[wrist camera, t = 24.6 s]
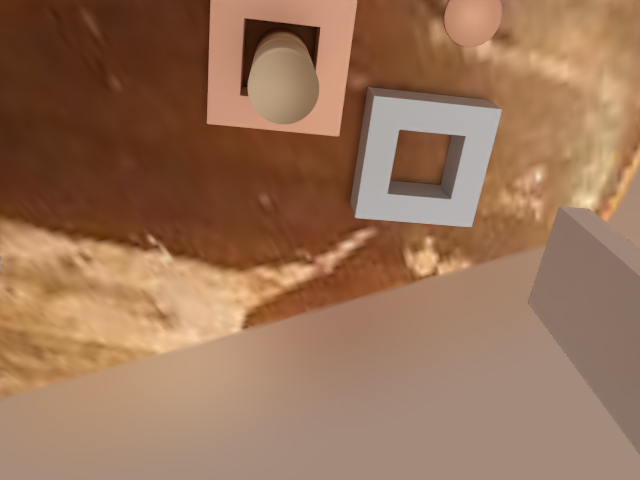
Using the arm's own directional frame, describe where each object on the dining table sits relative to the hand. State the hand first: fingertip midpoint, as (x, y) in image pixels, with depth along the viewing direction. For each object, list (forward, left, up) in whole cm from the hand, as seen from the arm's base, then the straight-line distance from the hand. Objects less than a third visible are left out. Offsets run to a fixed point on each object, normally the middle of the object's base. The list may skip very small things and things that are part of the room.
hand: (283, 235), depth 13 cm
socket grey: (+11, -6, -29) cm, 31 cm away
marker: (+13, +4, -29) cm, 32 cm away
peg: (0, 0, -29) cm, 29 cm away
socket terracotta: (0, 0, -29) cm, 29 cm away
